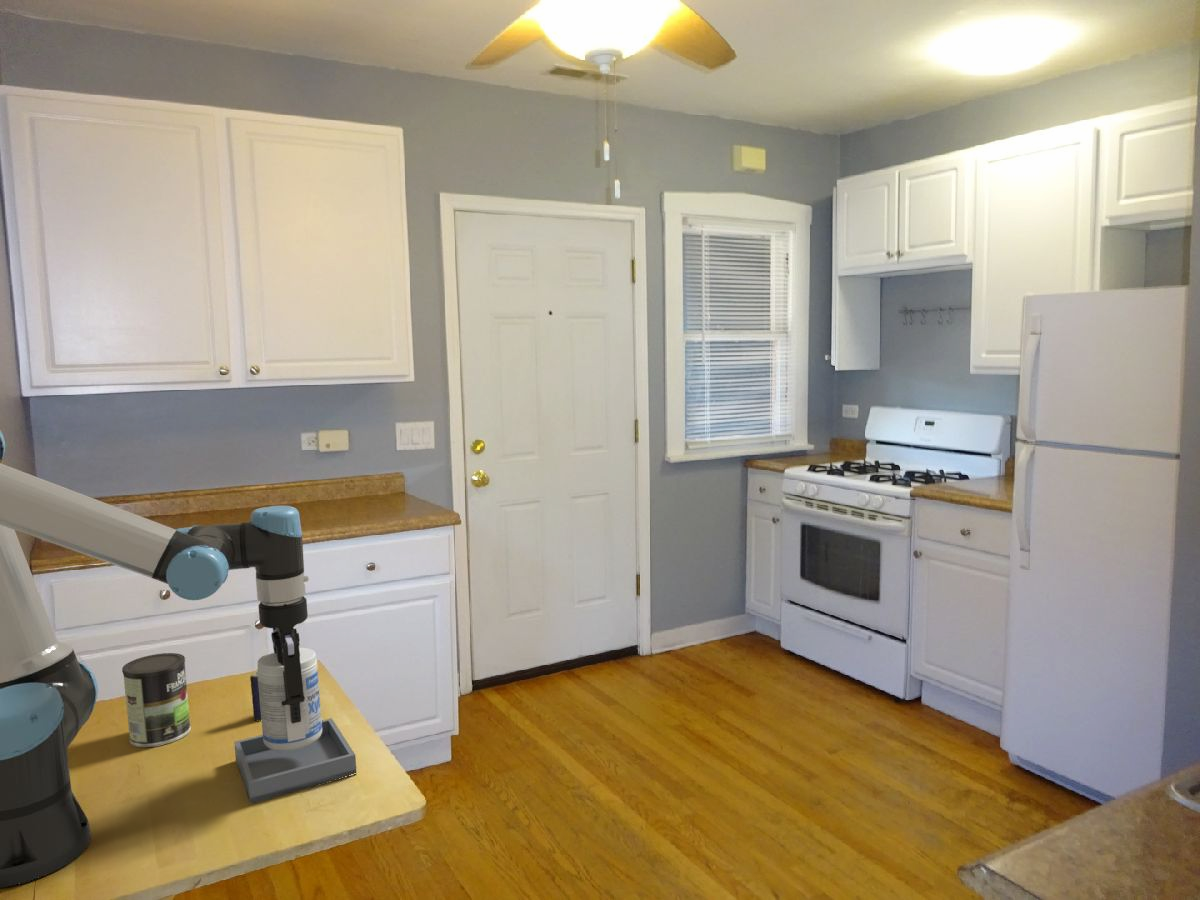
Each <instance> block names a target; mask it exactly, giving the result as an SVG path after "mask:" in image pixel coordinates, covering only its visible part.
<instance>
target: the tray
mask: <svg viewBox="0 0 1200 900" xmlns="http://www.w3.org/2000/svg"><path fill="white" fill-rule="evenodd" d="M234 753H235V762H236V766H237V768H238V771H239V774H240V778H241V780H242V783H243V786H244V788H245V789H244V790H245V791H246V795H247V798H248V800H249V801H248V802H249V804H250V805H252V804H256V803H260V802H264V801H267V800H270V799H275V798H278V797H281V796H285V795H289V794H292V793H295V792H299V791H303V790H307V789H309V788H313V787H318V786H320V785H319V784H321V785H324V784H323V783H325V784H327V783H326V782H328V783H330V782H329V781H332V782H334V781H333V780H335V779H339V778H342V777H345V776H349V775H351V774H354V773H357V761H356V759H357V758H356V757H357V756H356V753H355V751H354V750H353V749H352V747H351V745H350V744H349V743H348V741H347V740H346V738H345V737H344V734H343V733H342V732H341V730H340V729H339V727H338V726H337V724H336V722H335V721H334V719H333V718H332V717H330V718H327V719H323V720H322V734H321V736H320V737H319V739H318V740H316V741H315V742H314V743H312V744H310V745H308V746H306V747H303V748H300V749H295V750H289V751H276V750H272V749H270V748H268V747H267V746H266V745H265V744H264V742H263V734H260V735H256V736H253V737H247V738H244V739H240V740H235V741H234ZM339 780H340V779H339ZM335 781H336V780H335ZM317 785H318V786H317Z"/></svg>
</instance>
